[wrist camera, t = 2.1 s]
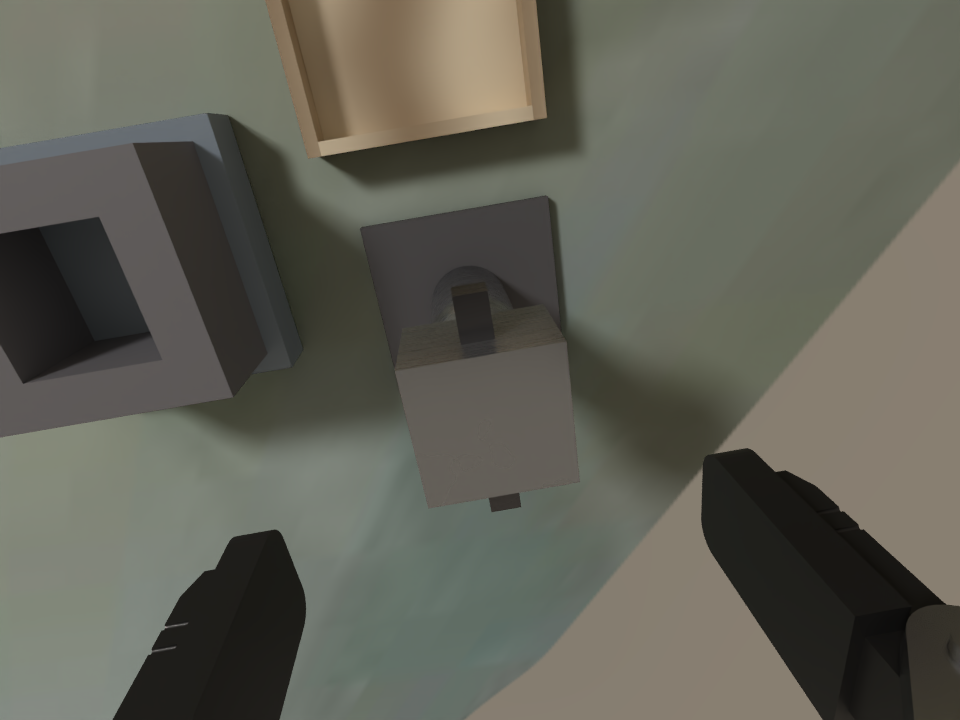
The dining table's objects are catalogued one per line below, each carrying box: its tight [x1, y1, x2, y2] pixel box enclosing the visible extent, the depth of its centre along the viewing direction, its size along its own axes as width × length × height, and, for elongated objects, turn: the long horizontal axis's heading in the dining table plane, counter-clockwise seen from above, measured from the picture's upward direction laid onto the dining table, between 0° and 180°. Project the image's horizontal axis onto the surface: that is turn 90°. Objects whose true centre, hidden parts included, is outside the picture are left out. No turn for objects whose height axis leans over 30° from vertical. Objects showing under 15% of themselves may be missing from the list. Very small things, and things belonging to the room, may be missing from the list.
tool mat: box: [360, 196, 561, 368], centre depth 24 cm, size 8×8×1 cm
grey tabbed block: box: [395, 266, 580, 512], centre depth 18 cm, size 4×7×11 cm, turn 9°
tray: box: [265, 0, 547, 159], centre depth 18 cm, size 9×9×2 cm
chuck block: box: [0, 113, 303, 437], centre depth 19 cm, size 15×10×6 cm, turn 99°
